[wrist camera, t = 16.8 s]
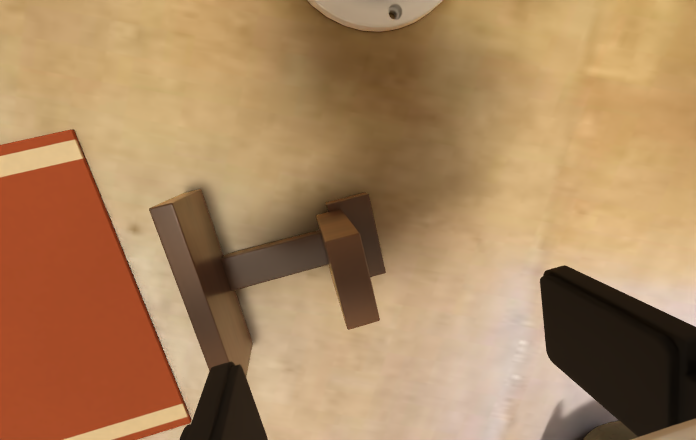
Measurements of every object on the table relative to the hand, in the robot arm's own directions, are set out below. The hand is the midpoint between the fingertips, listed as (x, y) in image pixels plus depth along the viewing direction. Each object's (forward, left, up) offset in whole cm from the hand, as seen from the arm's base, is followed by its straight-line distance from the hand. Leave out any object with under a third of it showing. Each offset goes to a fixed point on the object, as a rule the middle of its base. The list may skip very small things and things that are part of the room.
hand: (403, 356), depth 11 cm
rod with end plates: (+1, -3, -16) cm, 16 cm away
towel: (0, -22, -16) cm, 27 cm away
